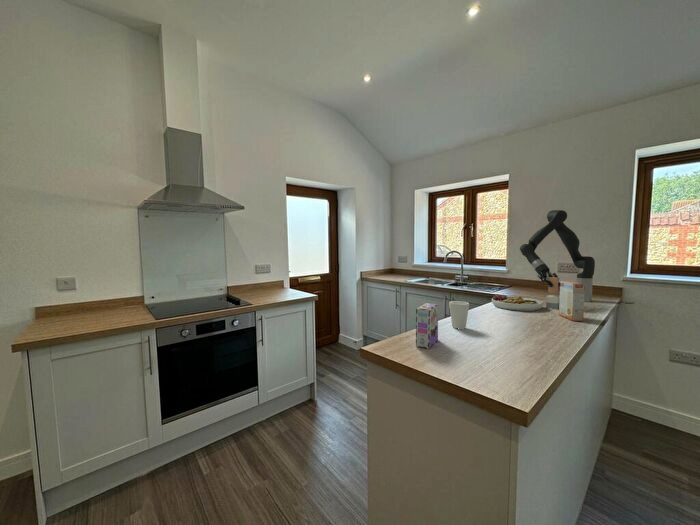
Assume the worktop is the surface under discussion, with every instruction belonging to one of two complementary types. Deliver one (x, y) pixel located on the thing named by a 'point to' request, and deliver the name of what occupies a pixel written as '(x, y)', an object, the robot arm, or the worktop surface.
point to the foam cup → (459, 313)
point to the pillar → (555, 285)
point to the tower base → (552, 305)
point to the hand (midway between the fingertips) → (555, 286)
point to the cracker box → (571, 300)
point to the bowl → (516, 303)
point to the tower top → (553, 299)
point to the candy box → (426, 325)
